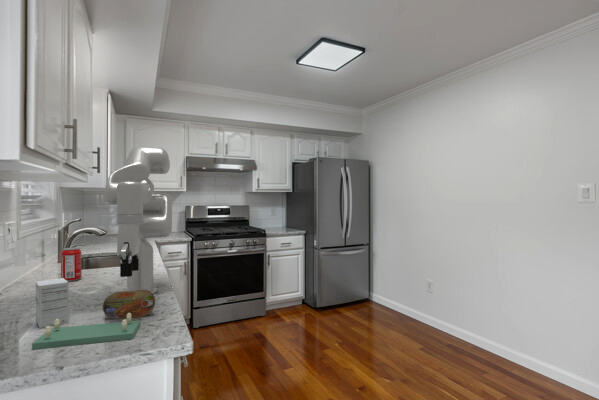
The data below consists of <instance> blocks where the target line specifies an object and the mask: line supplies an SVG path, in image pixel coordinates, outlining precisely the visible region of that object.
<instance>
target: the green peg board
mask: <svg viewBox="0 0 599 400" xmlns="http://www.w3.org/2000/svg"><path fill="white" fill-rule="evenodd" d="M53 326H54V327H52V326H47V327H44V333H43V334H42V335H41V336H39V337H38V338H37V339H35V340H34V341H33V342H32V343H31V350H40V349H48V348H50V349H51V348H58V347H67V346H77V345H78V346H79V345H85V344H97V343H105V342H106V343H107V342H117V341H125V340H133V339H134V337H135V336H136V333H137V331H138V329H139V328H140V326H141V320H140V319H138V320H132V318H131V313H128V314H127V318H125V319H122V320H121V321H116V322H105V323H97V324H96V323H95V324H83V325H74V326H63V327H61V324H60V320H59V319H56V320H55V321H54V325H53Z"/></svg>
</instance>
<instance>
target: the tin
mask: <svg viewBox="0 0 599 400" xmlns="http://www.w3.org/2000/svg"><path fill="white" fill-rule="evenodd" d="M155 306H156V297H155V295H154V294H152V293H151V292H150V291H148V290H133V291H124V290H123V291H116V292H113V293H111V294H109V295H108V296H107V297H106V298H105V299H104V301H103V304H102V311H103V313H104V314H105V316H106V317H107V318H109V319H112V320H124V319H127V314H128V313H131V319H133V318H143V317H146V316H148V315H149V314H150V313H152V311H153V310H154V308H155Z"/></svg>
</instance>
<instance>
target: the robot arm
mask: <svg viewBox="0 0 599 400" xmlns="http://www.w3.org/2000/svg"><path fill="white" fill-rule="evenodd" d="M125 163H126V165H125V166H122V167H120V168H119V169H117V170H115V171H113V172H112V173H110V175H109V176H108V178H107V181H106V184H105V186H104V187H105V188H104V198H105V202H107V203H108V204H109V205H114V206H116V225H117V226H118V229H117V231H118V232H117V241H116V242H117V247H116V256H117V257H118V258H120V261H119V263H120V265H119V269H120V270H119V277H121V278H126V284H127V285H126V289H124V290H123V291H133V290H148V291H150V292H151V293H152V294H153V295H154V294H155V293H157V292H158V287H157V286H154V247H153V245H152V244H151V243H150V242H149V240H147V239H153V238H154V239H155V238H156V239H157V238H168V237H169V236H170V235H171V234H172V229H173V199H172V197H171V195H170V194H169V193H166V192H155V185H154V183H153V182H152V180H151V179H150V178H149V177H150V174H151V175H164V174H165V175H166V174H167V173H169V170H170V168H171V165H170V164H171V163H170V157H169V154H168V152H167V150H166V149H165V148H162V147H156V146H155V147H153V146H136V147H133V148H132V149H130V152H129V153H128V156H127V158H126V162H125Z"/></svg>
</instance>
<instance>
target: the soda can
mask: <svg viewBox="0 0 599 400" xmlns="http://www.w3.org/2000/svg"><path fill="white" fill-rule="evenodd" d="M60 278H64V279H65V280H66V281H68V283H73V282H77V281H79V280H81V279H82V250H81V249H80V247H66V248H62V250H61V252H60Z"/></svg>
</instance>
